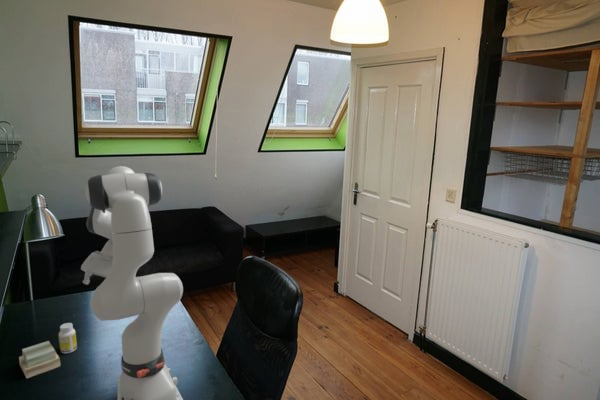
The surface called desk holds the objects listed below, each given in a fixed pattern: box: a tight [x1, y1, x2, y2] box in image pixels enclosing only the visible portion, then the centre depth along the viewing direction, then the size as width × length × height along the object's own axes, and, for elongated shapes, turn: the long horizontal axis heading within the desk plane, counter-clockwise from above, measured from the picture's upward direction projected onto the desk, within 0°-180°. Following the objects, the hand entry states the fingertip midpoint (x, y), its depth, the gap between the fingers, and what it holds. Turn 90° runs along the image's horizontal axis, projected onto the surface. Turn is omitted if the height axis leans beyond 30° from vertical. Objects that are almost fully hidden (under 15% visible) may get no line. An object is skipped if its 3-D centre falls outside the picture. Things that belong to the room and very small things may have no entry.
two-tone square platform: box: [18, 340, 61, 379], centre depth 140 cm, size 10×10×6 cm
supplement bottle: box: [58, 322, 78, 354], centre depth 149 cm, size 5×5×10 cm
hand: (93, 286), depth 157 cm, fingers open, 8 cm apart
